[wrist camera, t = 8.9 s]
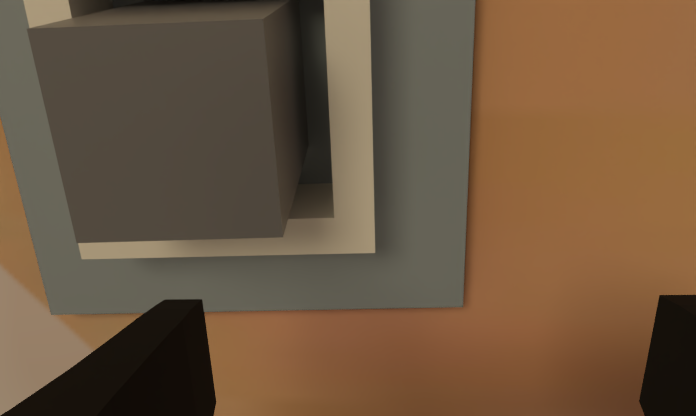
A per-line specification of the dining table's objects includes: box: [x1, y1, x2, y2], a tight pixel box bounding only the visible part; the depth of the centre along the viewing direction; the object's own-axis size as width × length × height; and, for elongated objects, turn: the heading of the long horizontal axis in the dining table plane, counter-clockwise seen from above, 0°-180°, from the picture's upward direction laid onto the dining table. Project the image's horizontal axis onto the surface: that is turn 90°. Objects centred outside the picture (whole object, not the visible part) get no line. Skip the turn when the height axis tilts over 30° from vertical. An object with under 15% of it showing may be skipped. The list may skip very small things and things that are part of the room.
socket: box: [0, 0, 475, 315], centre depth 16 cm, size 13×14×4 cm
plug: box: [27, 0, 309, 243], centre depth 14 cm, size 4×4×6 cm
